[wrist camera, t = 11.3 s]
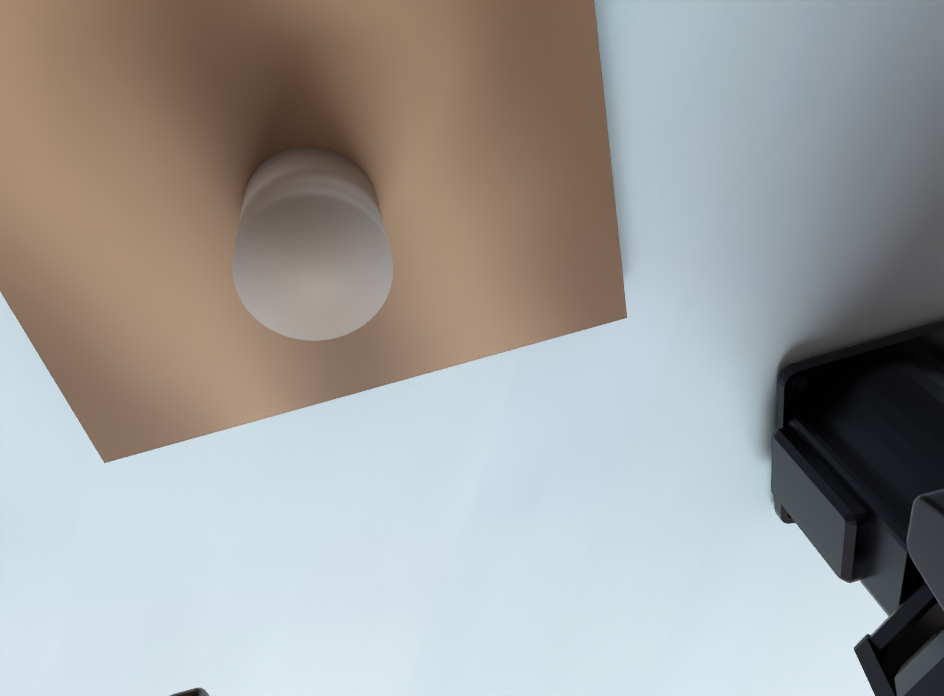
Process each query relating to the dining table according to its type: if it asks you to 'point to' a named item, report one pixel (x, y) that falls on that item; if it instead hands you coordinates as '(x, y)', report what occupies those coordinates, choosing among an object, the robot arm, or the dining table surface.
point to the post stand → (295, 198)
